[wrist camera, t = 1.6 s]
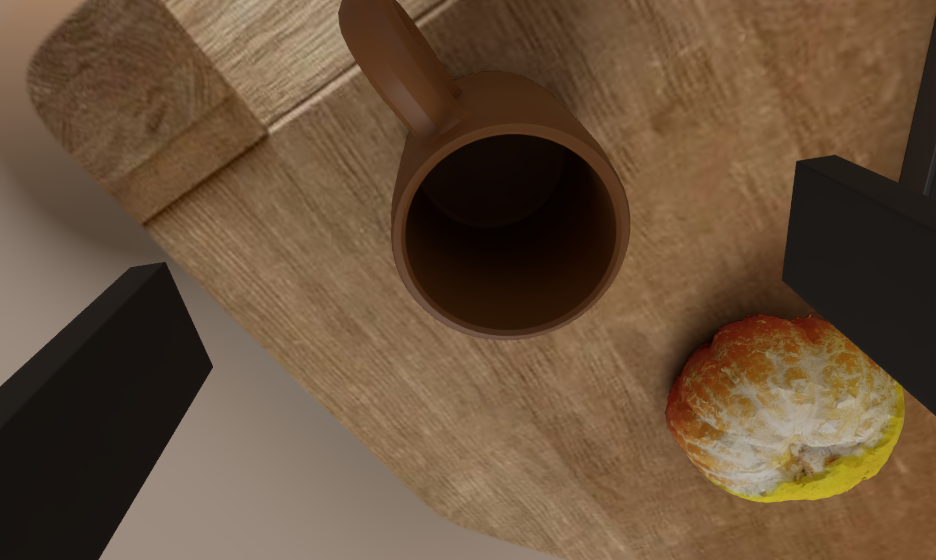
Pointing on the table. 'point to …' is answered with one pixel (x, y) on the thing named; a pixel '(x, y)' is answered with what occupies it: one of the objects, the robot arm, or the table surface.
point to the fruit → (784, 410)
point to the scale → (923, 133)
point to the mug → (489, 188)
